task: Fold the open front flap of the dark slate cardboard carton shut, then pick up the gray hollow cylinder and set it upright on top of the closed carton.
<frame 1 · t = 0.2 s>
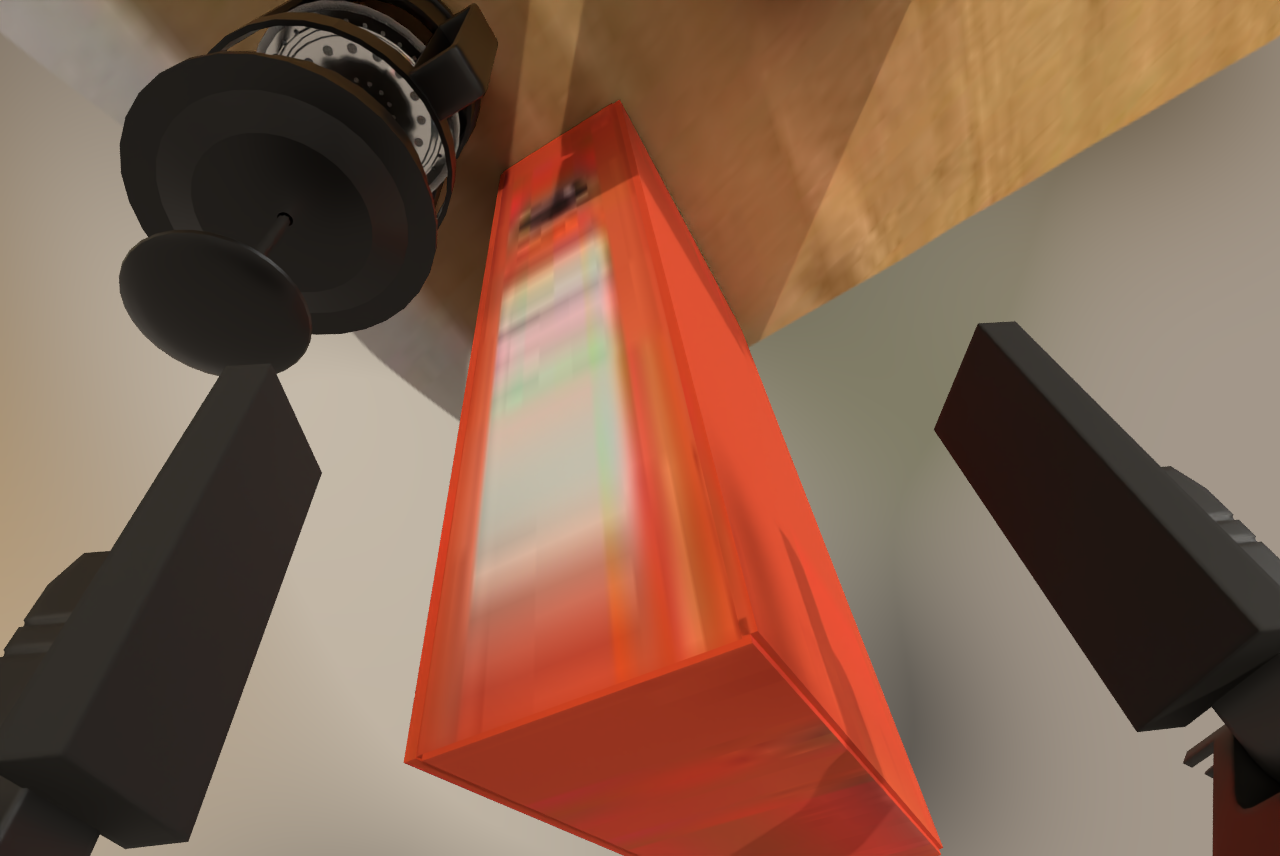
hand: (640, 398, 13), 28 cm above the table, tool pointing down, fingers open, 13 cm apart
french press: (395, 71, 33), on the table
file binder: (631, 258, 41), on the table
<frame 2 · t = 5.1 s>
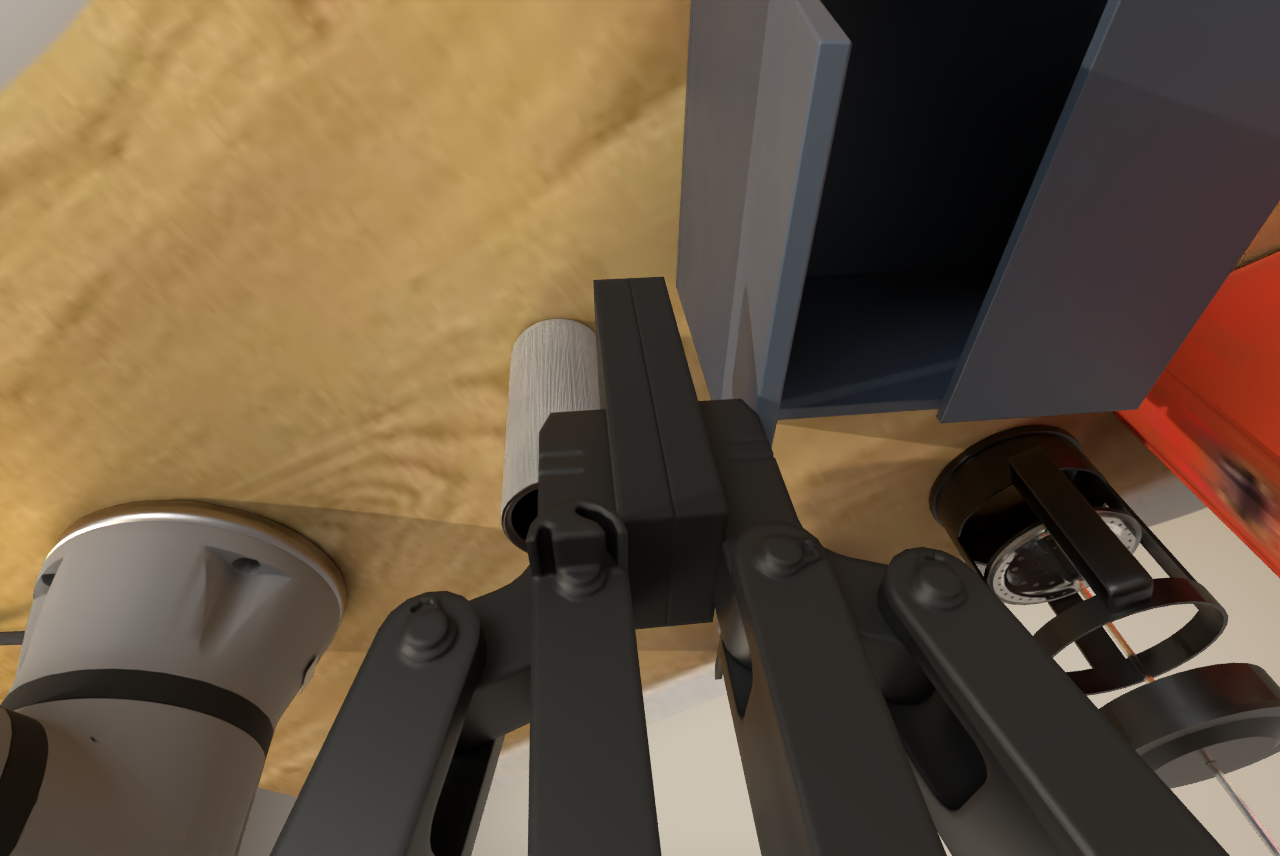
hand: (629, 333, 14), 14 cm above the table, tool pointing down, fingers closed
carton: (870, 130, 25), on the table
flap: (751, 334, 14), point 14 cm above the table, hinge at 101.2°
french press: (999, 473, 41), on the table
gray hollow cylinder: (559, 355, 31), on the table
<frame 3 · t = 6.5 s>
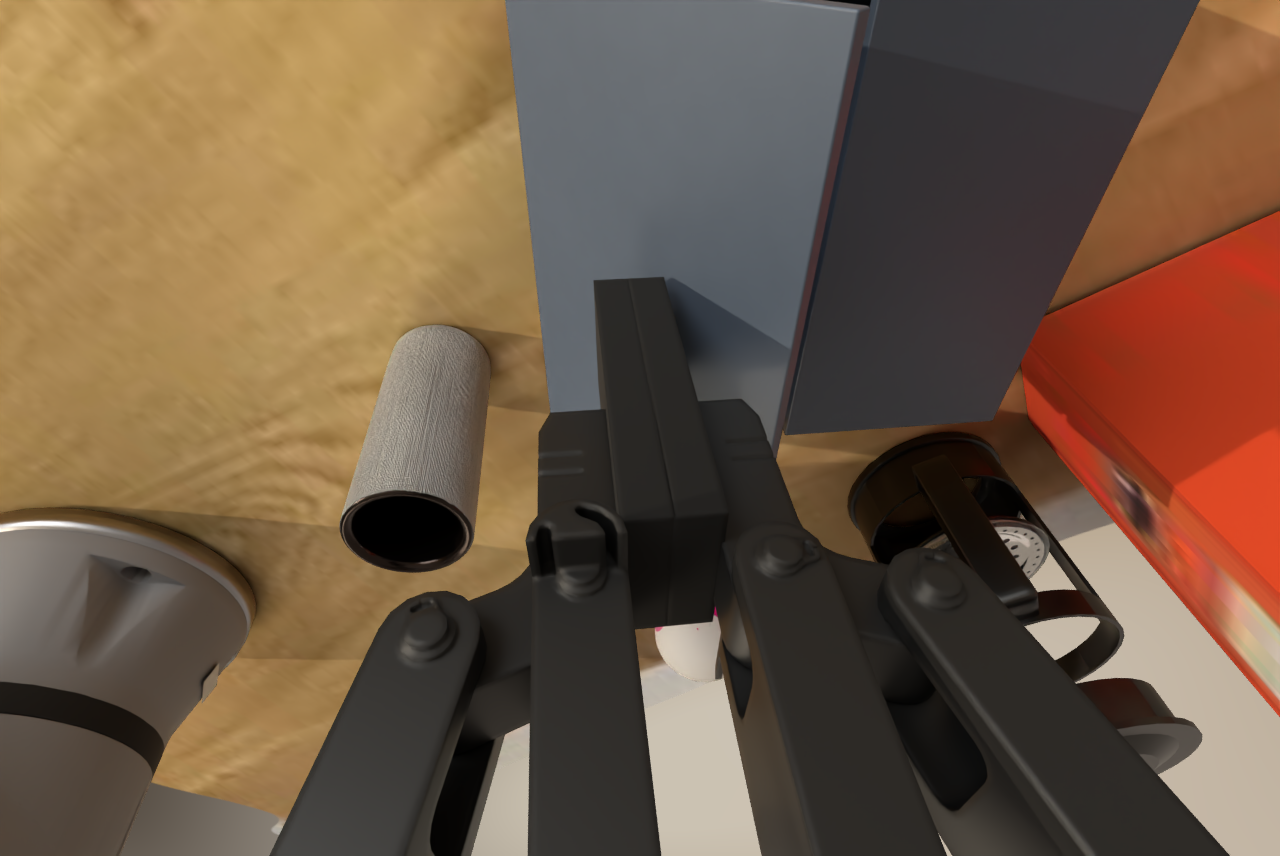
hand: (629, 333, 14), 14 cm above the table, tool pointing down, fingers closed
carton: (735, 133, 25), on the table
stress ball: (701, 591, 46), on the table
flap: (650, 317, 15), point 13 cm above the table, hinge at 45.8°
french press: (918, 480, 40), on the table
file binder: (1191, 302, 33), on the table
gray hollow cylinder: (442, 361, 30), on the table
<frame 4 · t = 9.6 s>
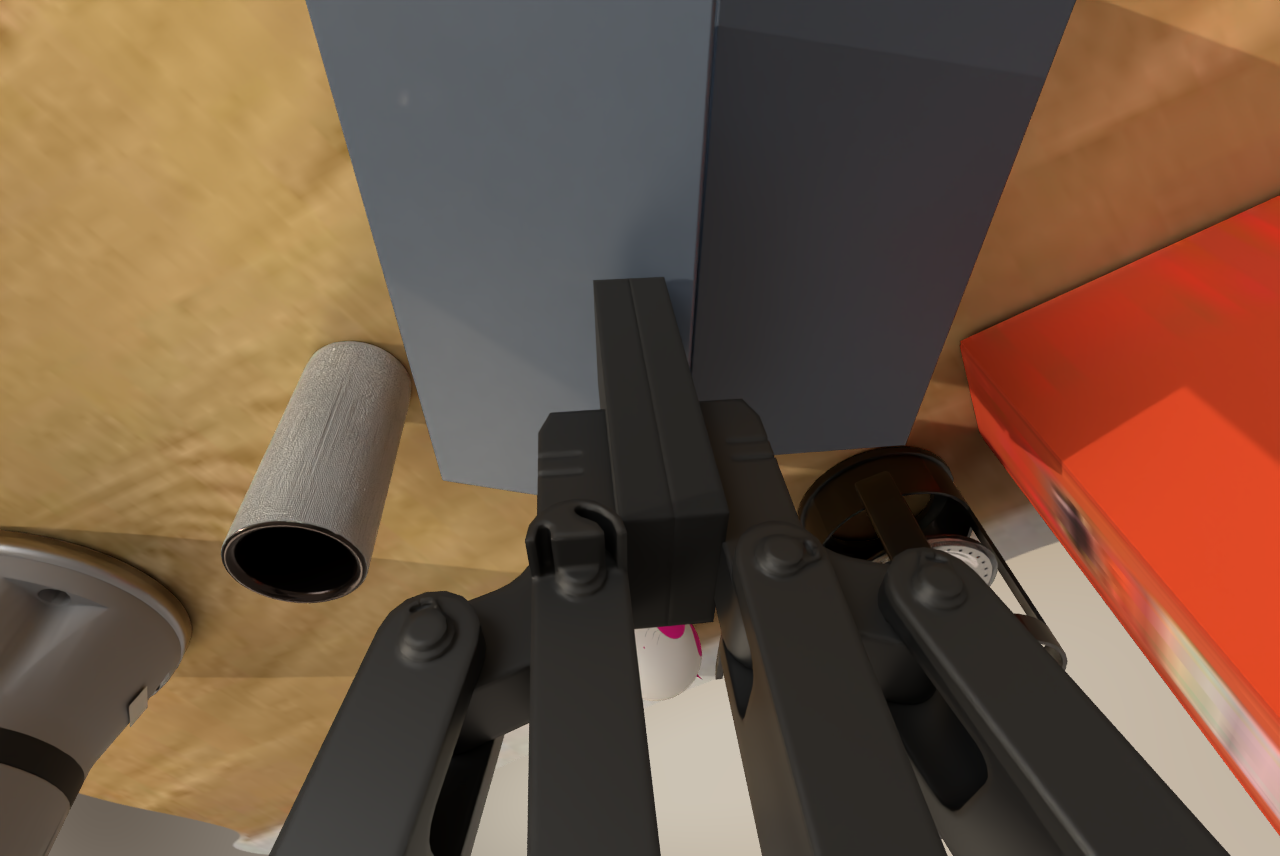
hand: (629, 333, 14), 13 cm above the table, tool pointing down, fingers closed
carton: (646, 143, 24), on the table
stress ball: (654, 606, 45), on the table
flap: (537, 307, 15), point 11 cm above the table, hinge at 17.5°, touching gripper
french press: (870, 494, 39), on the table
file binder: (1140, 314, 32), on the table
gray hollow cylinder: (361, 378, 29), on the table
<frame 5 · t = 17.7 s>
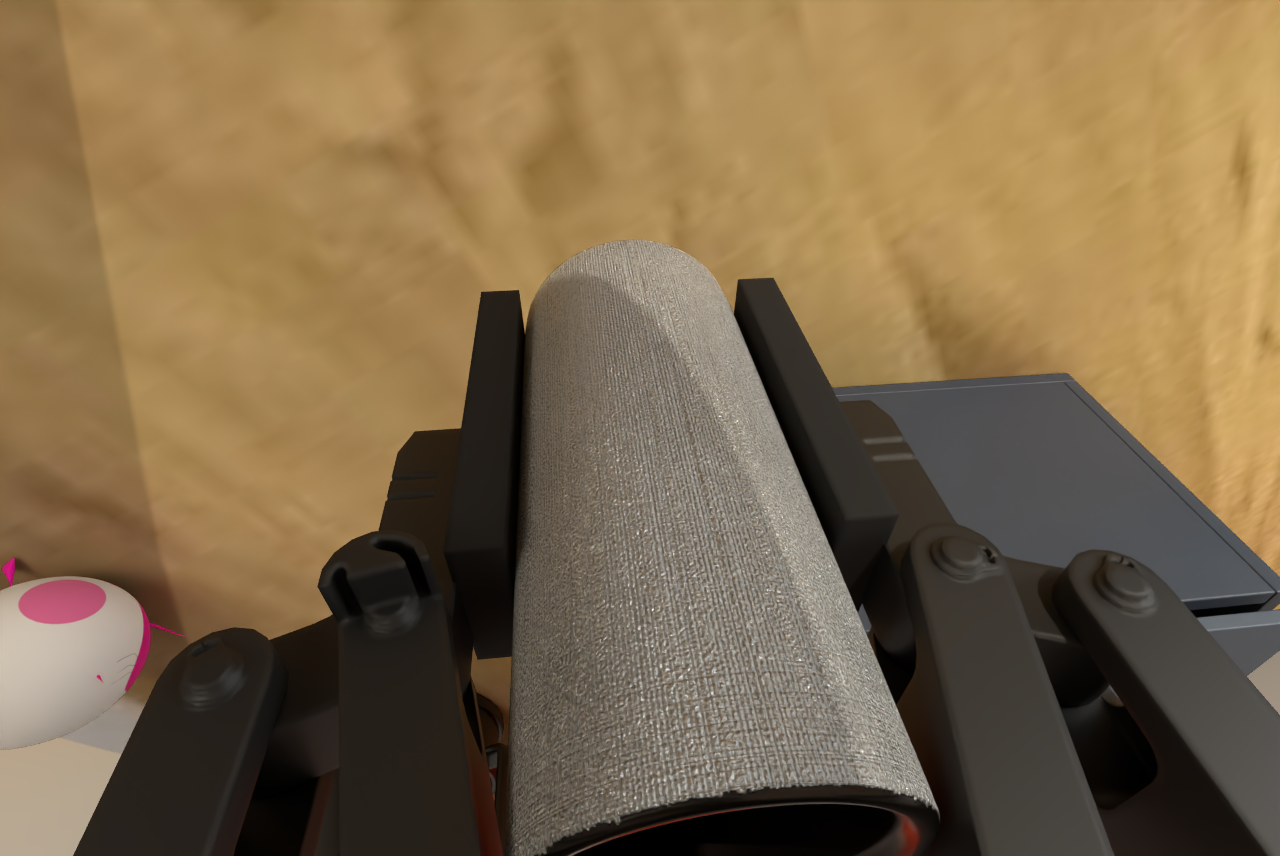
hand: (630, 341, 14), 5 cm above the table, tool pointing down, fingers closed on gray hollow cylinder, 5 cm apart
carton: (851, 522, 28), on the table
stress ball: (103, 595, 26), on the table
flap: (1008, 708, 18), point 10 cm above the table, hinge at -0.9°
french press: (424, 719, 35), on the table
gray hollow cylinder: (627, 327, 14), point 5 cm above the table, touching gripper
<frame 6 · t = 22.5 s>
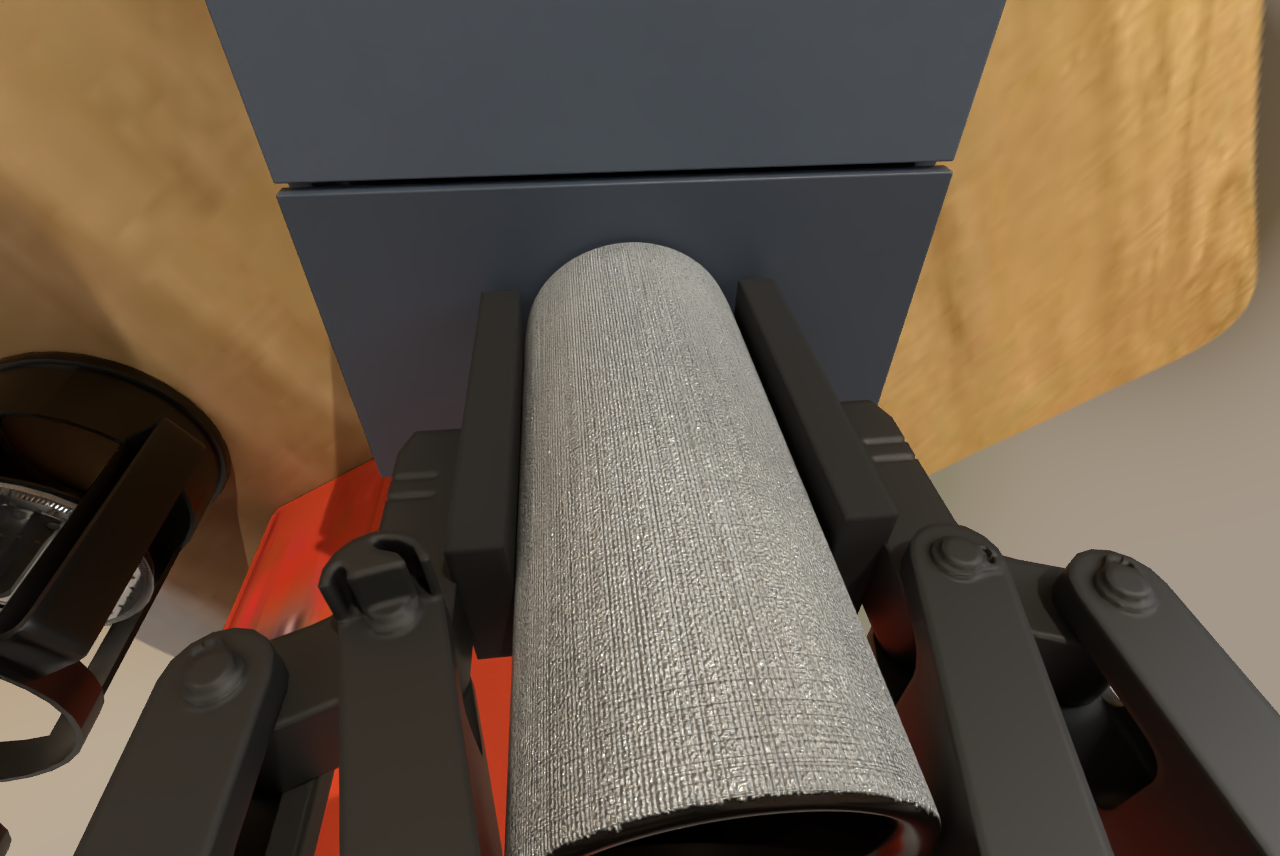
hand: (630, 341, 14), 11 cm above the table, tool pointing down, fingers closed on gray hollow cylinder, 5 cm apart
carton: (597, 54, 20), on the table
french press: (117, 434, 27), on the table
file binder: (452, 566, 36), on the table
gray hollow cylinder: (627, 329, 14), point 10 cm above the table, touching gripper
when the fingers open (11 cm above the table, at t = 24.4 s): gray hollow cylinder stays where it is, resting on carton.
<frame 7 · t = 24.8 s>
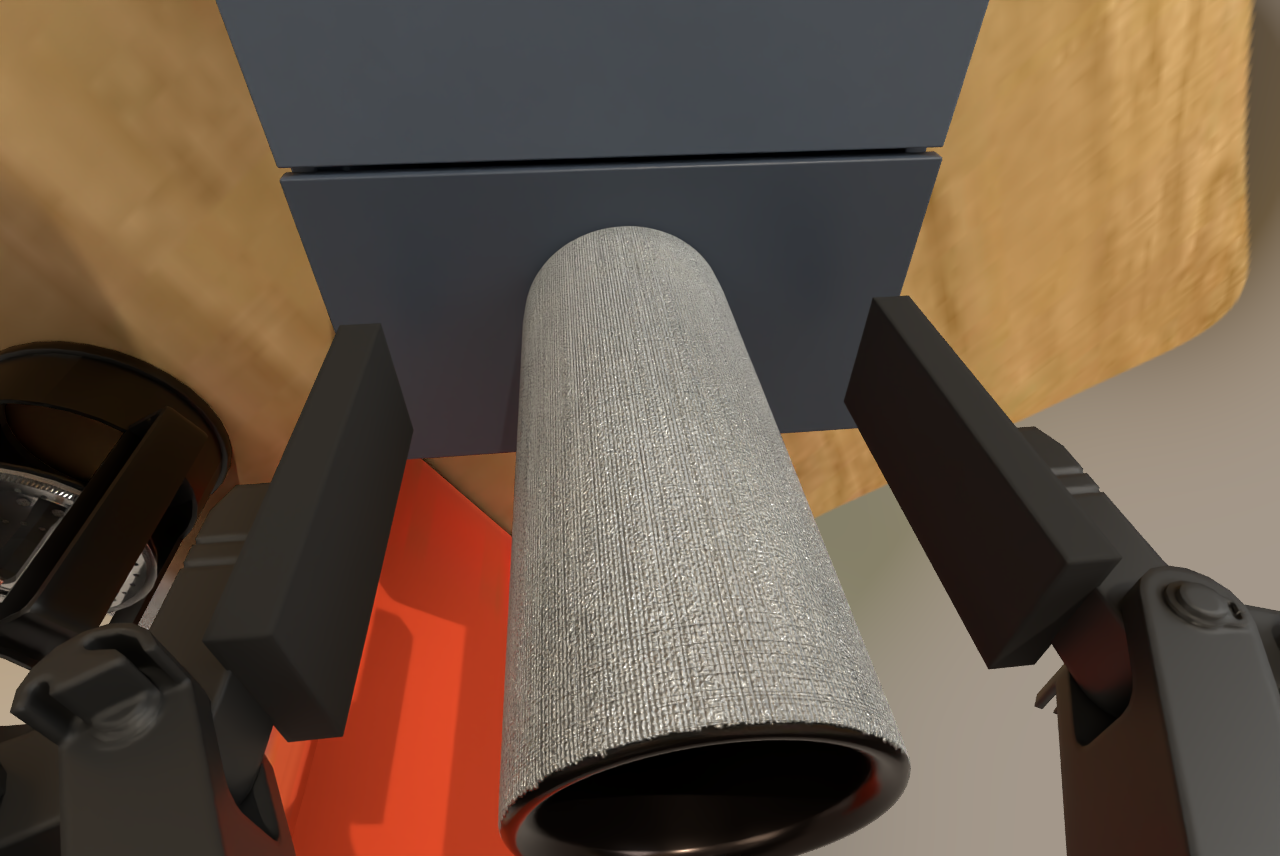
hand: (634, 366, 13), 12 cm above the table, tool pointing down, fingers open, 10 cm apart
carton: (595, 45, 20), on the table
french press: (120, 423, 28), on the table
file binder: (452, 556, 36), on the table
gray hollow cylinder: (623, 313, 15), point 10 cm above the table, touching carton
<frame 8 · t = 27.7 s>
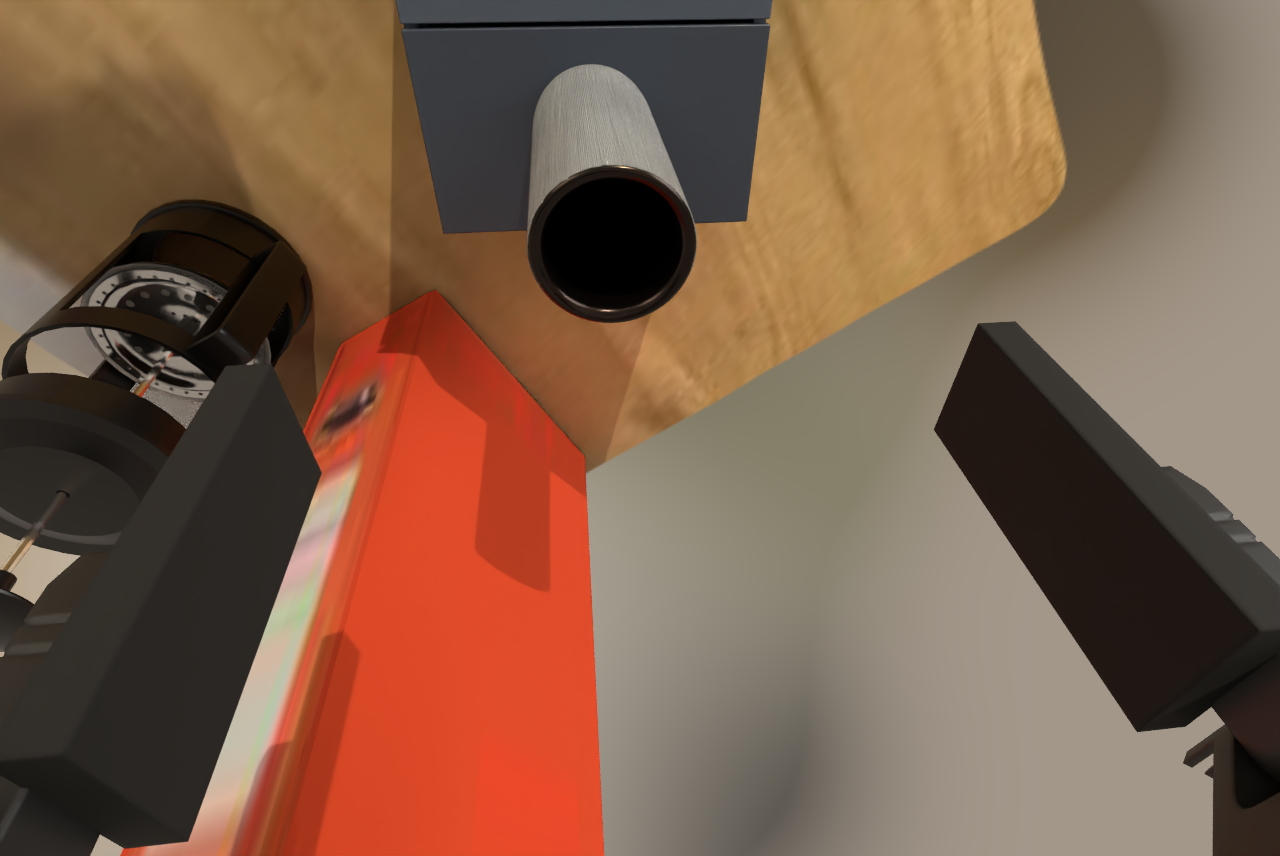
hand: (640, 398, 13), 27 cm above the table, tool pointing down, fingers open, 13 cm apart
french press: (233, 272, 38), on the table
file binder: (472, 403, 46), on the table
gray hollow cylinder: (592, 127, 25), point 10 cm above the table, touching carton
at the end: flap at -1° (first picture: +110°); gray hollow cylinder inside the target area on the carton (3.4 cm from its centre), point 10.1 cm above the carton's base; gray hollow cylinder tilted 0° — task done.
